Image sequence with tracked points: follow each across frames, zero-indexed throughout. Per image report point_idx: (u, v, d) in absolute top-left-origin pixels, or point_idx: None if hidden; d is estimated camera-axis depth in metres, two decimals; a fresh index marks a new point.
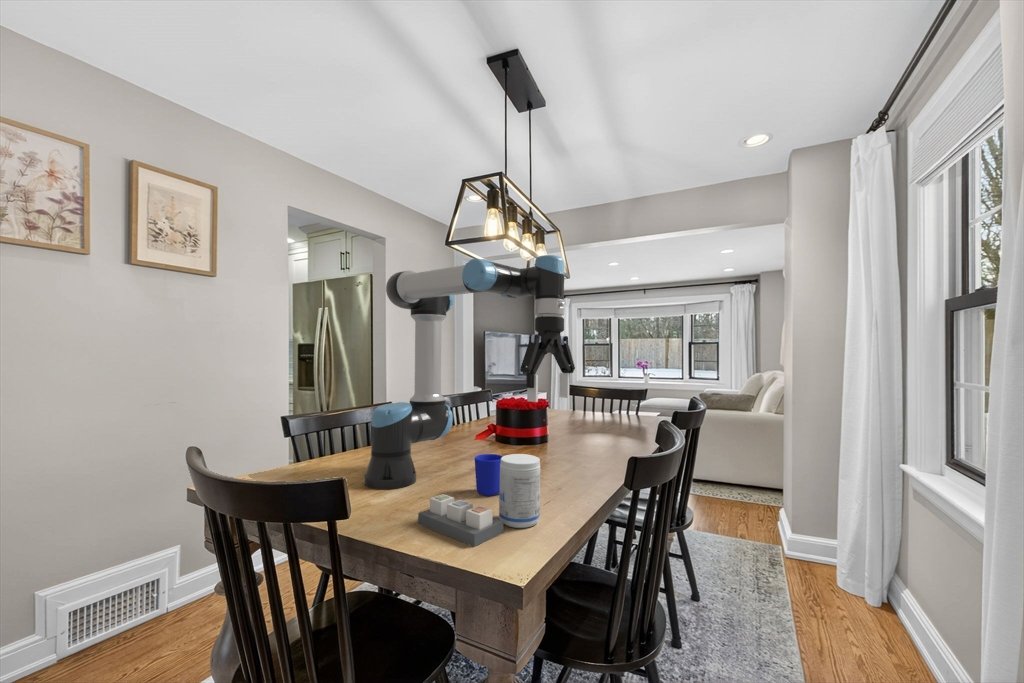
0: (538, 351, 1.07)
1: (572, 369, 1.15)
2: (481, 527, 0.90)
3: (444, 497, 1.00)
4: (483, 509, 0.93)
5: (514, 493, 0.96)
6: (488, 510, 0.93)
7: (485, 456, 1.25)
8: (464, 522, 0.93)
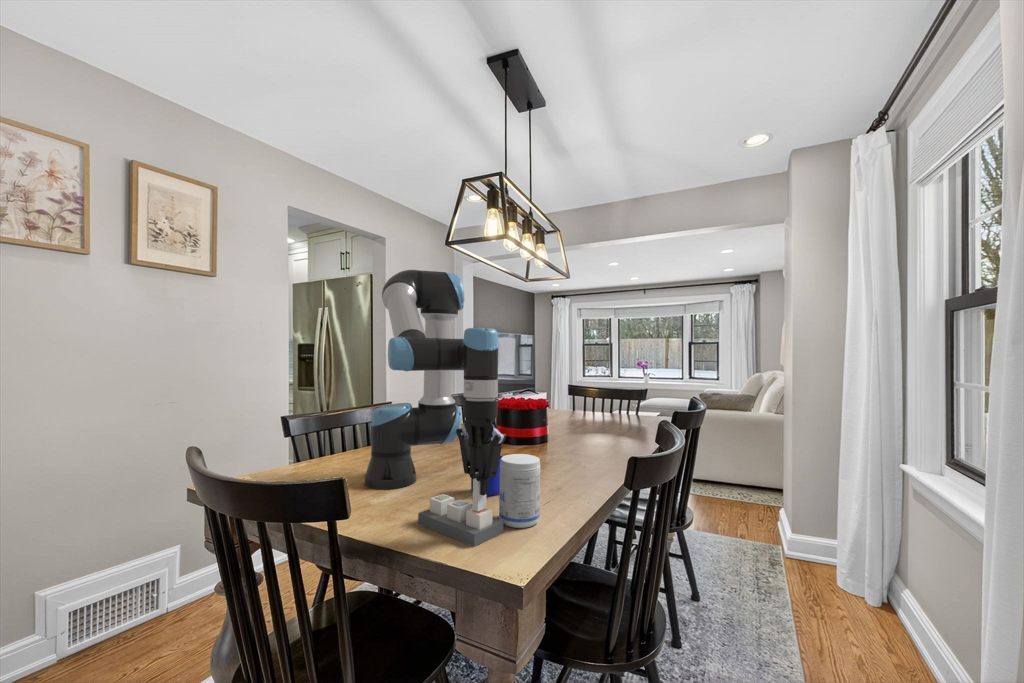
0: None
1: (480, 478, 0.90)
2: (481, 527, 0.90)
3: (444, 497, 1.00)
4: (483, 509, 0.93)
5: (514, 493, 0.96)
6: (488, 510, 0.93)
7: None
8: (464, 522, 0.93)
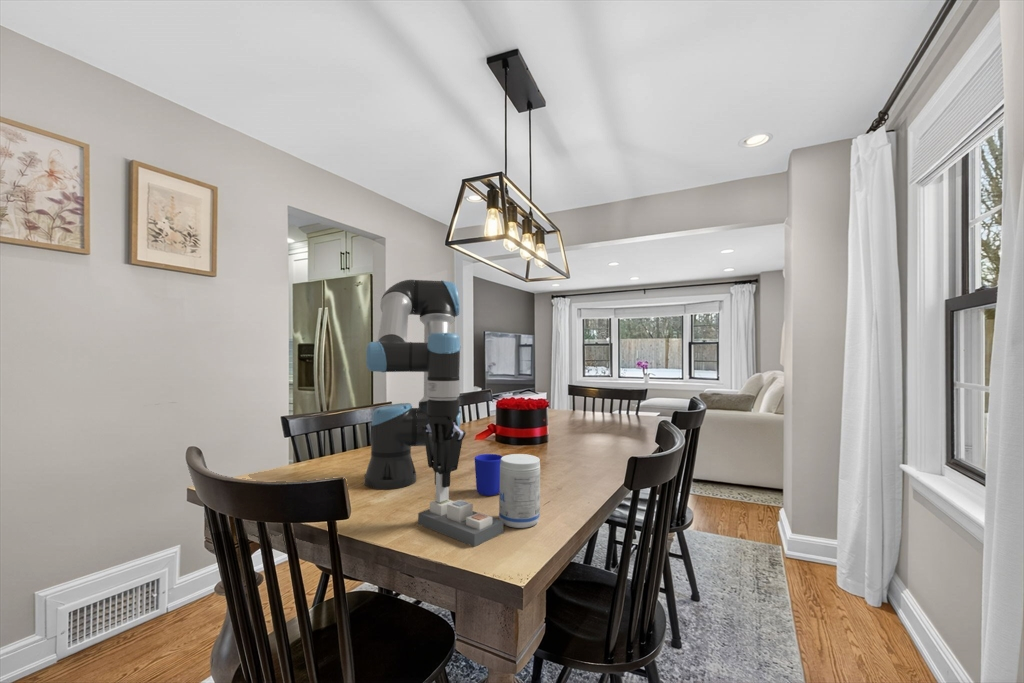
0: None
1: (442, 471, 0.98)
2: None
3: (444, 501, 1.00)
4: (483, 516, 0.93)
5: (514, 493, 0.96)
6: (488, 517, 0.93)
7: (485, 456, 1.25)
8: (464, 522, 0.93)
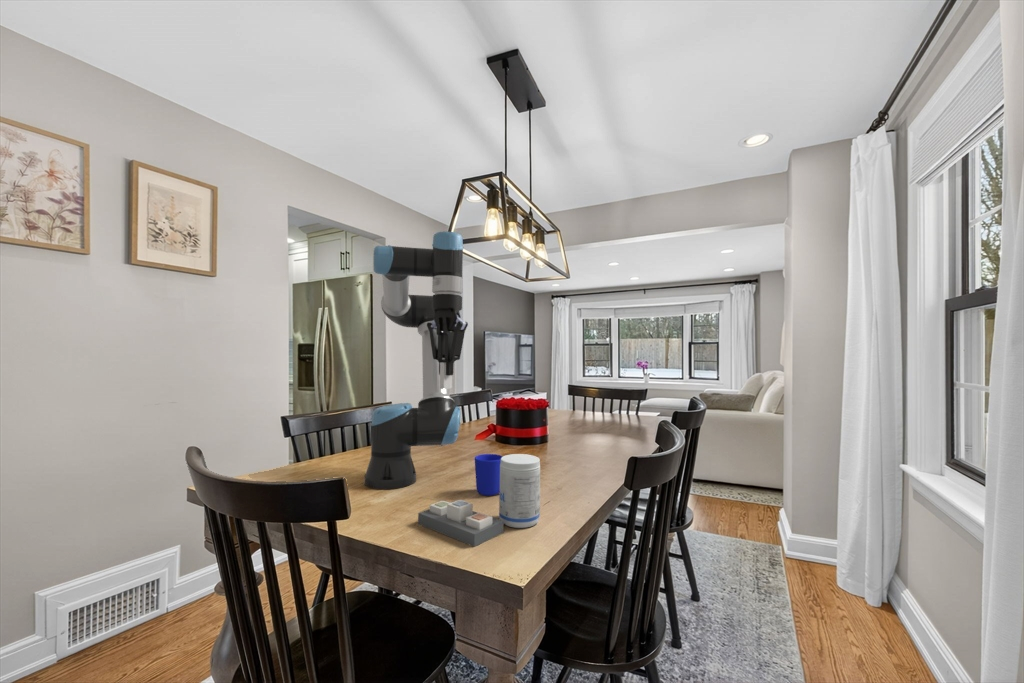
0: None
1: (446, 360, 1.06)
2: None
3: (444, 504, 1.00)
4: (483, 516, 0.93)
5: (514, 493, 0.96)
6: (488, 517, 0.93)
7: (485, 456, 1.25)
8: (464, 522, 0.93)
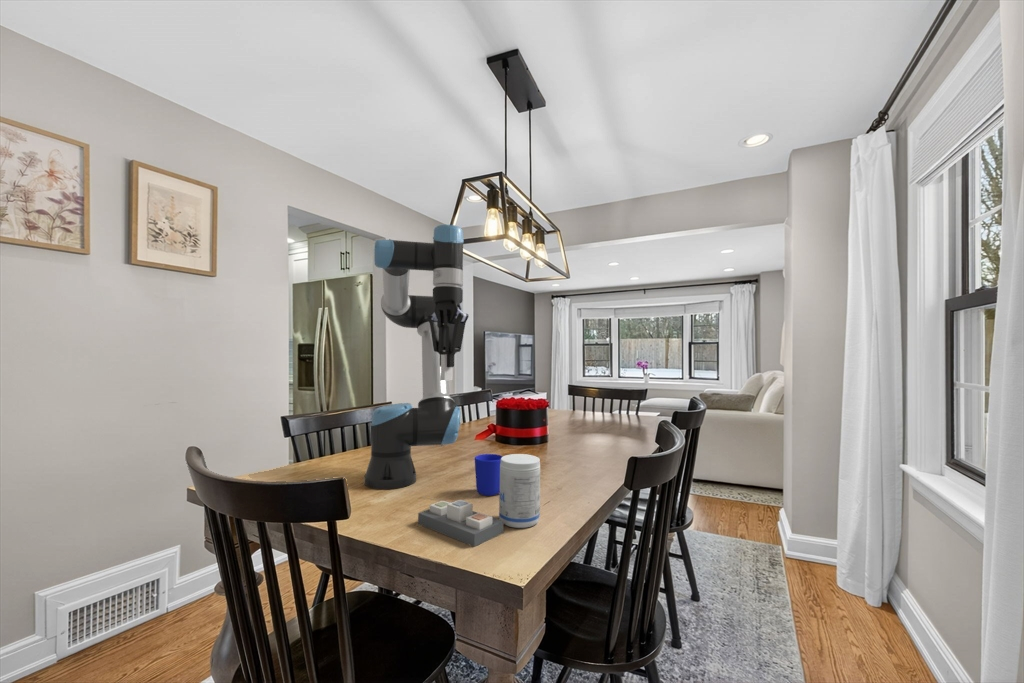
0: None
1: (446, 351, 1.06)
2: None
3: (444, 504, 1.00)
4: (483, 516, 0.93)
5: (514, 493, 0.96)
6: (488, 517, 0.93)
7: (485, 456, 1.25)
8: (464, 522, 0.93)
